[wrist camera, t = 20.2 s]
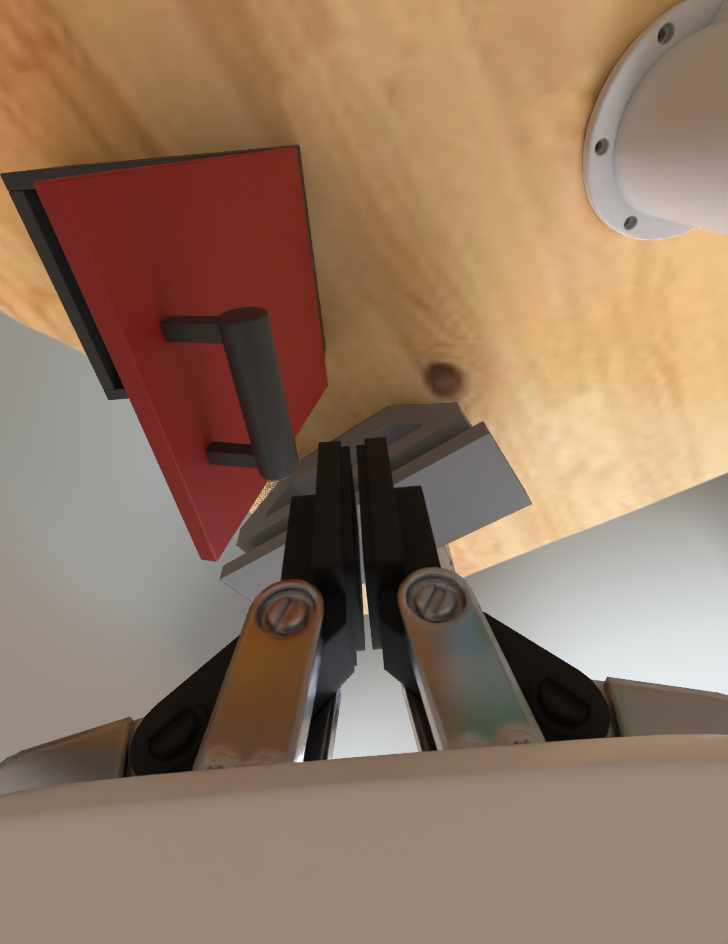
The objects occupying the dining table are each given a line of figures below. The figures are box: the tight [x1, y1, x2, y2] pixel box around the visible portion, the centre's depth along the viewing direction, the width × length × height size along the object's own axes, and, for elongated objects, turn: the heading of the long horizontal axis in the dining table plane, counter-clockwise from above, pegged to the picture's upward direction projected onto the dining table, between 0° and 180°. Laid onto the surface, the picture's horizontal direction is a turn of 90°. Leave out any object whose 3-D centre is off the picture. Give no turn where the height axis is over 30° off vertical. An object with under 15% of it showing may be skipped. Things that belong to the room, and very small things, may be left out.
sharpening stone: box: [220, 402, 532, 602], centre depth 40 cm, size 25×8×11 cm, turn 124°
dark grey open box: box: [0, 145, 326, 400], centre depth 30 cm, size 16×14×6 cm
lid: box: [34, 147, 328, 562], centre depth 20 cm, size 16×14×4 cm
